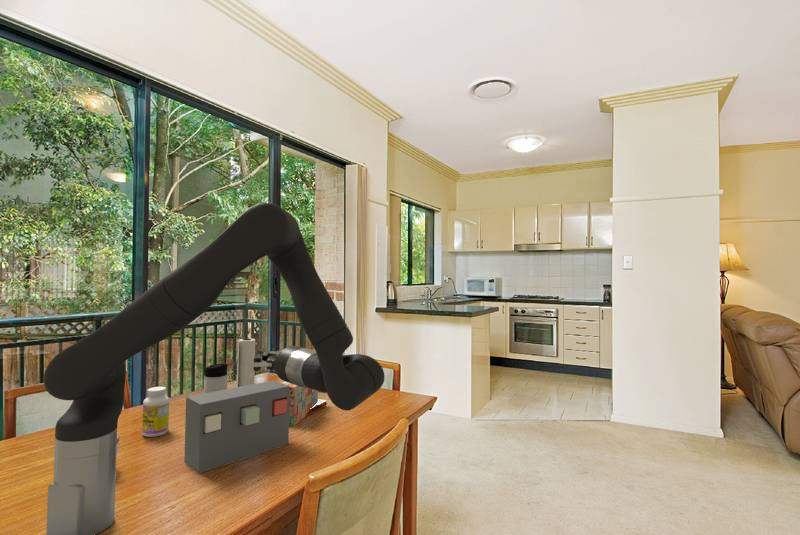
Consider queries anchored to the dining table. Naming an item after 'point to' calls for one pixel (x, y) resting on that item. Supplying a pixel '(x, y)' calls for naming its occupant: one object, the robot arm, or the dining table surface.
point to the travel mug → (215, 378)
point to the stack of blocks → (300, 402)
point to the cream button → (212, 422)
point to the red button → (279, 406)
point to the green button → (249, 415)
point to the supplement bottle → (155, 412)
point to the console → (234, 425)
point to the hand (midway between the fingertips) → (259, 354)
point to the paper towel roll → (245, 362)
